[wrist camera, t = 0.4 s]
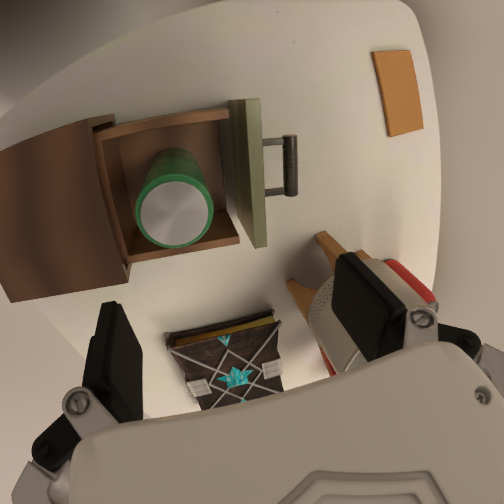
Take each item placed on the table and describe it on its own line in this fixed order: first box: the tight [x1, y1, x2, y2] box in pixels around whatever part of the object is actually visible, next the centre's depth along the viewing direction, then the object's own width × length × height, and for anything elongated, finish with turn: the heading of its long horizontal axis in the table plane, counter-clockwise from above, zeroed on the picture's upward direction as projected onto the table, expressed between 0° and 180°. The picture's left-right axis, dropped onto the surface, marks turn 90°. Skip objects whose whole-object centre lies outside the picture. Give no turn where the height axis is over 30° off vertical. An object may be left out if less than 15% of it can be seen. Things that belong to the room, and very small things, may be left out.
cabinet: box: [0, 114, 132, 303], centre depth 23 cm, size 15×15×10 cm
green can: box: [135, 147, 214, 248], centre depth 23 cm, size 5×5×12 cm
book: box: [166, 309, 284, 411], centre depth 45 cm, size 22×17×5 cm
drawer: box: [93, 98, 298, 264], centre depth 26 cm, size 18×13×8 cm
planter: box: [286, 231, 438, 374], centre depth 35 cm, size 13×13×18 cm
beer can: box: [384, 260, 439, 314], centre depth 41 cm, size 7×7×12 cm
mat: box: [371, 50, 424, 137], centre depth 30 cm, size 12×7×1 cm, turn 17°
